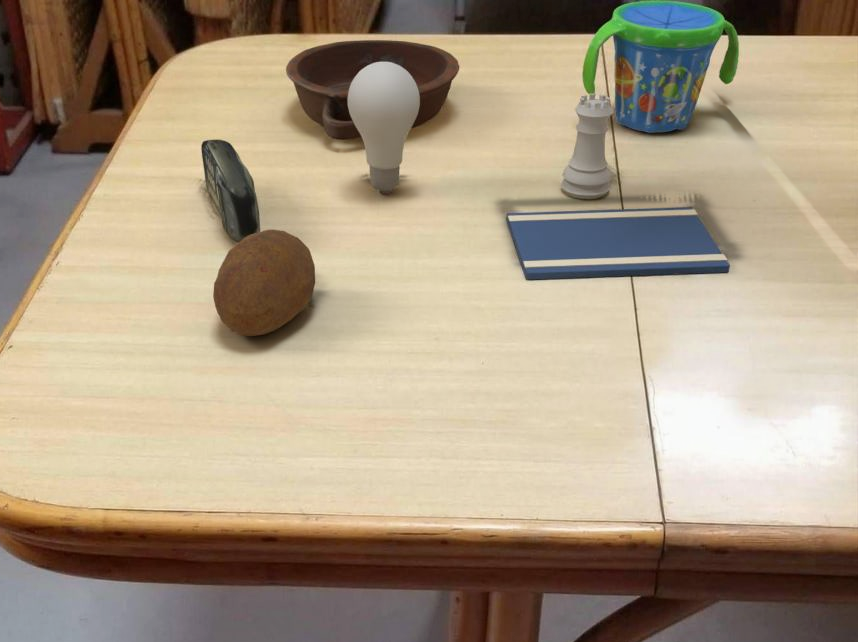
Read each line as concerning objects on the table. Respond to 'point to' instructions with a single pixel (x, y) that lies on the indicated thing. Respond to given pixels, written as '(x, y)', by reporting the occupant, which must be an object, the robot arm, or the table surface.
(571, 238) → the towel
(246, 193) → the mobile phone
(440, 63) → the dish
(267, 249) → the potato
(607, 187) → the rook chess piece
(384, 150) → the lightbulb
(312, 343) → the table surface
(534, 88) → the table surface
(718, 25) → the snack cup
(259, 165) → the table surface
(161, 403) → the table surface
